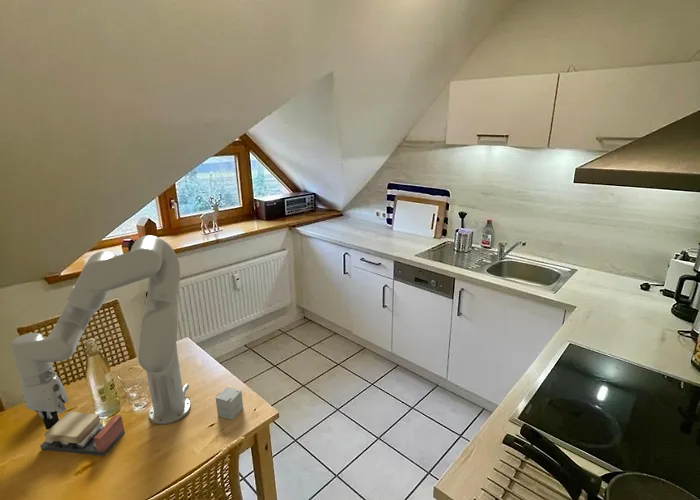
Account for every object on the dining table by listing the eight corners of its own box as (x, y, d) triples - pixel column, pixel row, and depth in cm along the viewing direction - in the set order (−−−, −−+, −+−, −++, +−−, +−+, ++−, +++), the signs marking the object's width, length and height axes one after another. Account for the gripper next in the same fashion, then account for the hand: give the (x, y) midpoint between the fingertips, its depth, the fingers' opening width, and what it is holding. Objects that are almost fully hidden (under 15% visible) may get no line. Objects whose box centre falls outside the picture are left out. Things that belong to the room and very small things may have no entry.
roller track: (41, 449, 116) (35, 432, 114) (65, 426, 125) (60, 410, 123) (104, 456, 114) (100, 438, 112) (124, 432, 123) (121, 415, 121)
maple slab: (46, 440, 115) (44, 433, 114) (70, 417, 123) (68, 411, 123) (78, 443, 114) (76, 436, 113) (100, 420, 122) (98, 414, 122)
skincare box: (228, 404, 135) (226, 386, 133) (243, 408, 133) (241, 390, 131) (217, 416, 130) (214, 397, 127) (232, 420, 128) (230, 402, 126)
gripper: (71, 369, 116) (85, 419, 122) (25, 365, 117) (41, 415, 123) (50, 385, 109) (66, 438, 115) (1, 381, 110) (19, 433, 116)
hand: (53, 426), depth 119 cm, fingers closed
